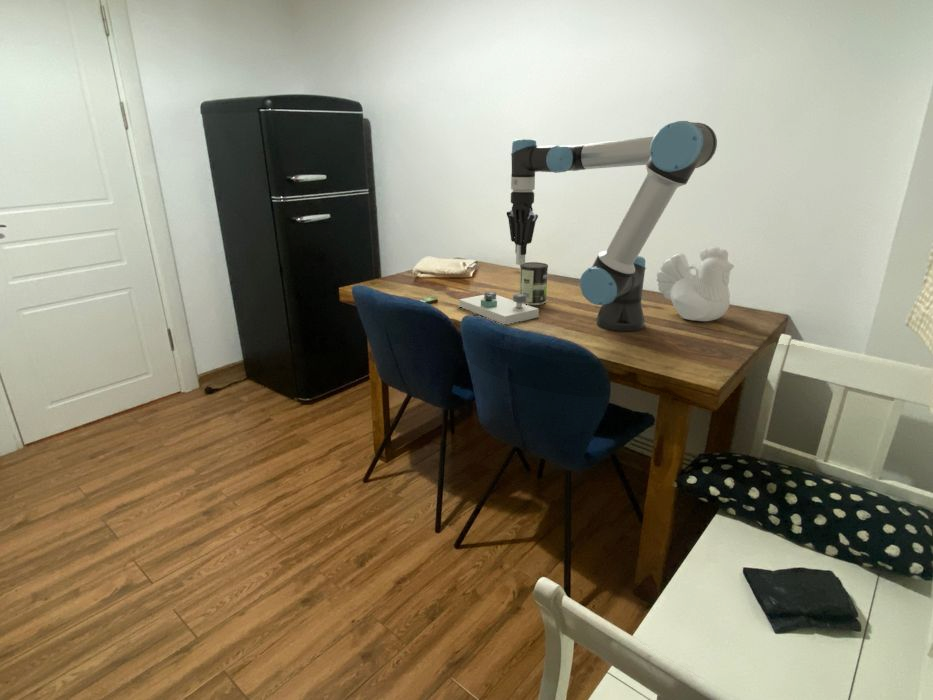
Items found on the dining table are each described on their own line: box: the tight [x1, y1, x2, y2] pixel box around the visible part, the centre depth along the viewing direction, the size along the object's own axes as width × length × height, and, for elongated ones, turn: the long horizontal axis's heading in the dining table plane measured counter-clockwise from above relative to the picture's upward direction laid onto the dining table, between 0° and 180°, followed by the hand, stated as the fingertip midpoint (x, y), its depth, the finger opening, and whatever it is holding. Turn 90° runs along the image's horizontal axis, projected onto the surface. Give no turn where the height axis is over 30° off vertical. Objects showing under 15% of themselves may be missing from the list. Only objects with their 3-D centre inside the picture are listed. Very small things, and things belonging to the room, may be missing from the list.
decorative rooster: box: [656, 246, 735, 322], centre depth 184 cm, size 25×16×25 cm, turn 31°
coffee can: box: [519, 261, 549, 306], centre depth 203 cm, size 10×10×14 cm
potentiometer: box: [481, 295, 497, 308], centre depth 189 cm, size 4×4×4 cm
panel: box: [458, 294, 540, 325], centre depth 192 cm, size 26×15×3 cm, turn 36°
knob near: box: [512, 293, 526, 309], centre depth 187 cm, size 4×4×5 cm
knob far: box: [483, 291, 497, 299], centre depth 200 cm, size 4×4×5 cm
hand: (520, 263), depth 182 cm, fingers closed
